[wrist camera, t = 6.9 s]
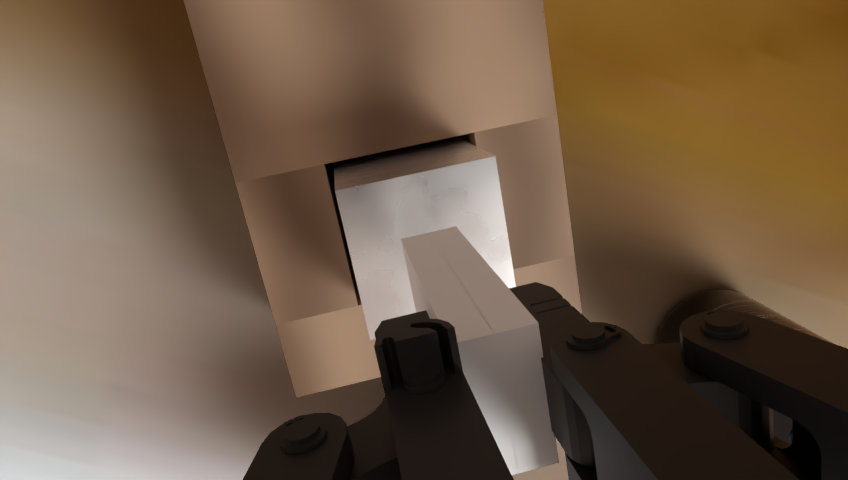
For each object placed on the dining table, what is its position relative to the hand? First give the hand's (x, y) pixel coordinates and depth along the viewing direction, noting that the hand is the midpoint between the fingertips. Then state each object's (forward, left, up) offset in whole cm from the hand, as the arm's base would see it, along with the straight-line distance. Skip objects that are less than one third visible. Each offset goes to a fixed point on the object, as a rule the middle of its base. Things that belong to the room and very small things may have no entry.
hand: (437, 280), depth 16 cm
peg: (0, 0, -11) cm, 11 cm away
